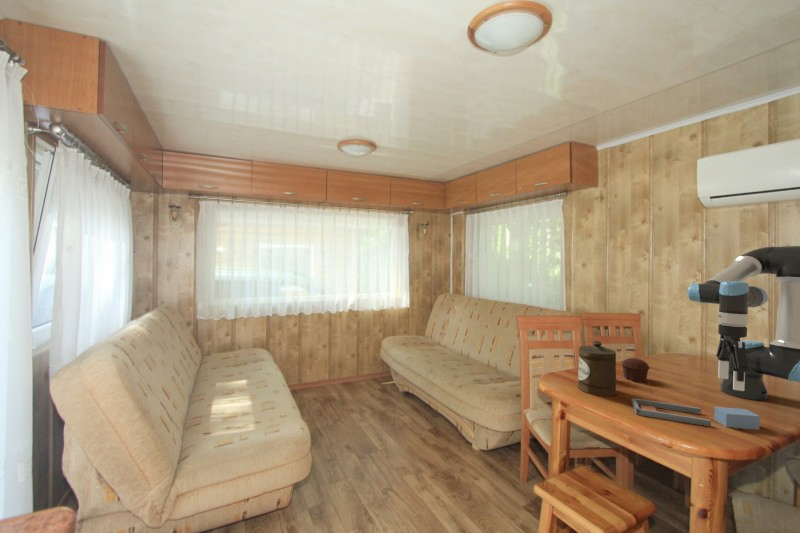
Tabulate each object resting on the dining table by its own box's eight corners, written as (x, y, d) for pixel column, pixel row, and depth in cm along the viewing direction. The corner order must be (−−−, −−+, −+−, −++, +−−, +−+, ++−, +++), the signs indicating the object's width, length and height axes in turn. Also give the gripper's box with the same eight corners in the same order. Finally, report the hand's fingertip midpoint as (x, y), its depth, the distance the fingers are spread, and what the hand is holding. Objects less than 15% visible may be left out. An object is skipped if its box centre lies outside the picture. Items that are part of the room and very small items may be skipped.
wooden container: (576, 382, 170) (577, 336, 169) (612, 387, 164) (613, 339, 164) (579, 393, 156) (580, 343, 156) (618, 398, 150) (619, 346, 150)
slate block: (746, 422, 129) (746, 409, 129) (759, 430, 123) (759, 416, 123) (714, 420, 131) (714, 406, 131) (726, 427, 125) (726, 413, 125)
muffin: (642, 376, 179) (643, 356, 179) (654, 383, 168) (654, 362, 168) (616, 374, 181) (617, 355, 181) (626, 382, 170) (627, 361, 170)
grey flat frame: (699, 413, 137) (699, 407, 136) (710, 426, 125) (711, 421, 125) (631, 402, 146) (631, 397, 146) (636, 414, 135) (636, 409, 135)
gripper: (707, 318, 140) (705, 372, 140) (733, 329, 117) (731, 393, 118) (731, 320, 137) (730, 375, 137) (763, 331, 114) (761, 397, 115)
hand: (730, 384), depth 127 cm, fingers open, 13 cm apart
